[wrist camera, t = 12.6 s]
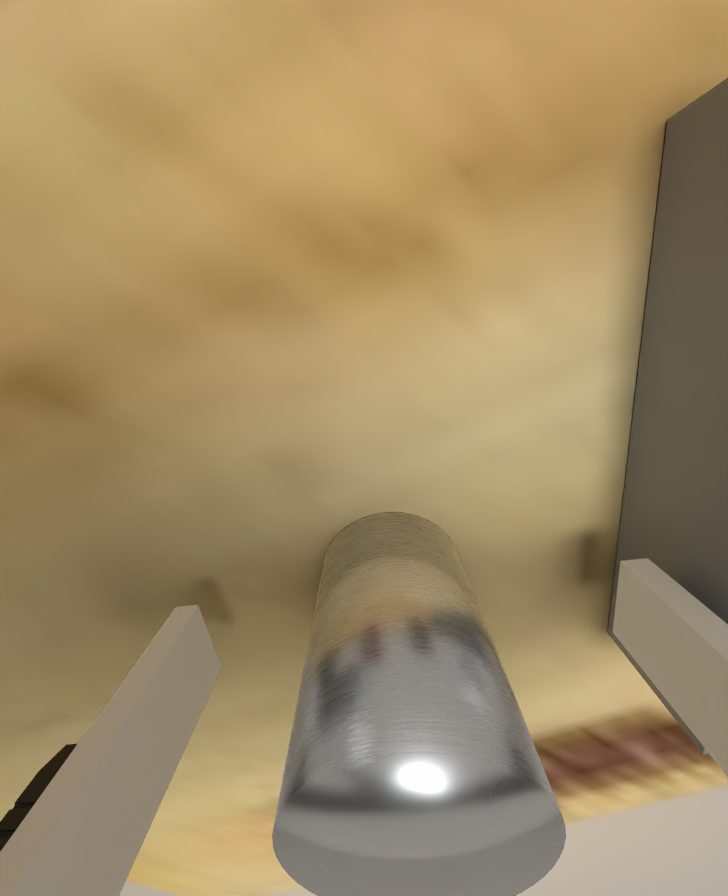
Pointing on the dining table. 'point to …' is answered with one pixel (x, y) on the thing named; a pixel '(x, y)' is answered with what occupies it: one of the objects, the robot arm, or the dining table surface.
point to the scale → (684, 374)
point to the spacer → (409, 733)
